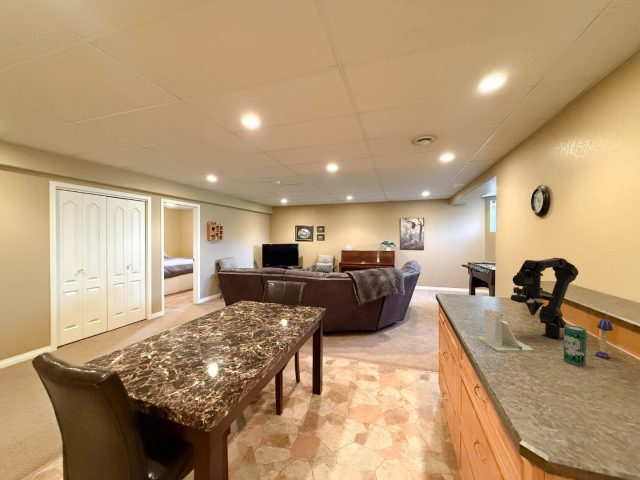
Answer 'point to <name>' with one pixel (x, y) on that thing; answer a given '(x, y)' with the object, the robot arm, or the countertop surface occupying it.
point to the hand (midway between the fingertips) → (532, 315)
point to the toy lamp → (604, 337)
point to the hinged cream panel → (508, 334)
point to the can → (575, 345)
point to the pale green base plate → (507, 346)
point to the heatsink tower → (493, 327)
